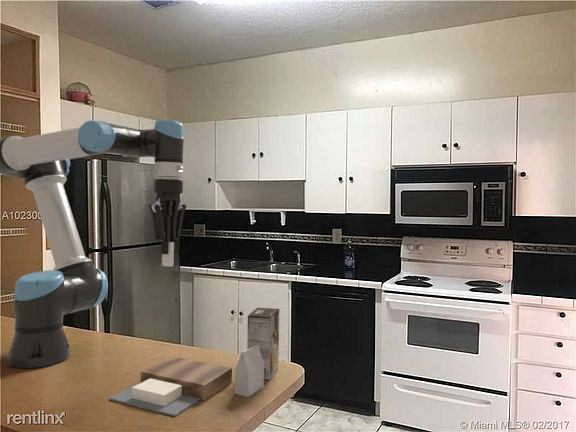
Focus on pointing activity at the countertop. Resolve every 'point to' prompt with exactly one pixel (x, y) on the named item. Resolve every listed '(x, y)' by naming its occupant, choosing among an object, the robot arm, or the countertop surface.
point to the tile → (157, 392)
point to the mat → (169, 409)
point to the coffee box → (265, 337)
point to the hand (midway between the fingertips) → (167, 265)
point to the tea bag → (249, 372)
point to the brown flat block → (190, 376)
